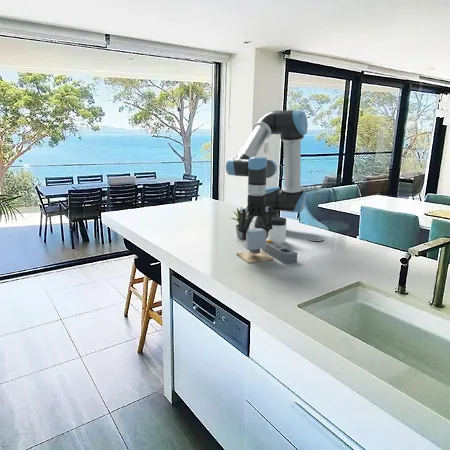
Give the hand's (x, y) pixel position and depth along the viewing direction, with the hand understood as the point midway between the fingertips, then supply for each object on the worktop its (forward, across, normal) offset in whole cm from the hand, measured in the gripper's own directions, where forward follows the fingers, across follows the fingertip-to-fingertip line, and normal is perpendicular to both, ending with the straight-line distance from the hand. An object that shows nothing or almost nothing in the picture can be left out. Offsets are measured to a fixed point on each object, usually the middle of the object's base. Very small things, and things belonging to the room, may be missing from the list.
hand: (254, 246), depth 163 cm
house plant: (+5, +8, +29) cm, 31 cm away
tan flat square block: (+5, 0, 0) cm, 5 cm away
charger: (+3, 0, 0) cm, 3 cm away
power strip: (+5, +11, +2) cm, 12 cm away
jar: (+5, +21, +17) cm, 28 cm away
